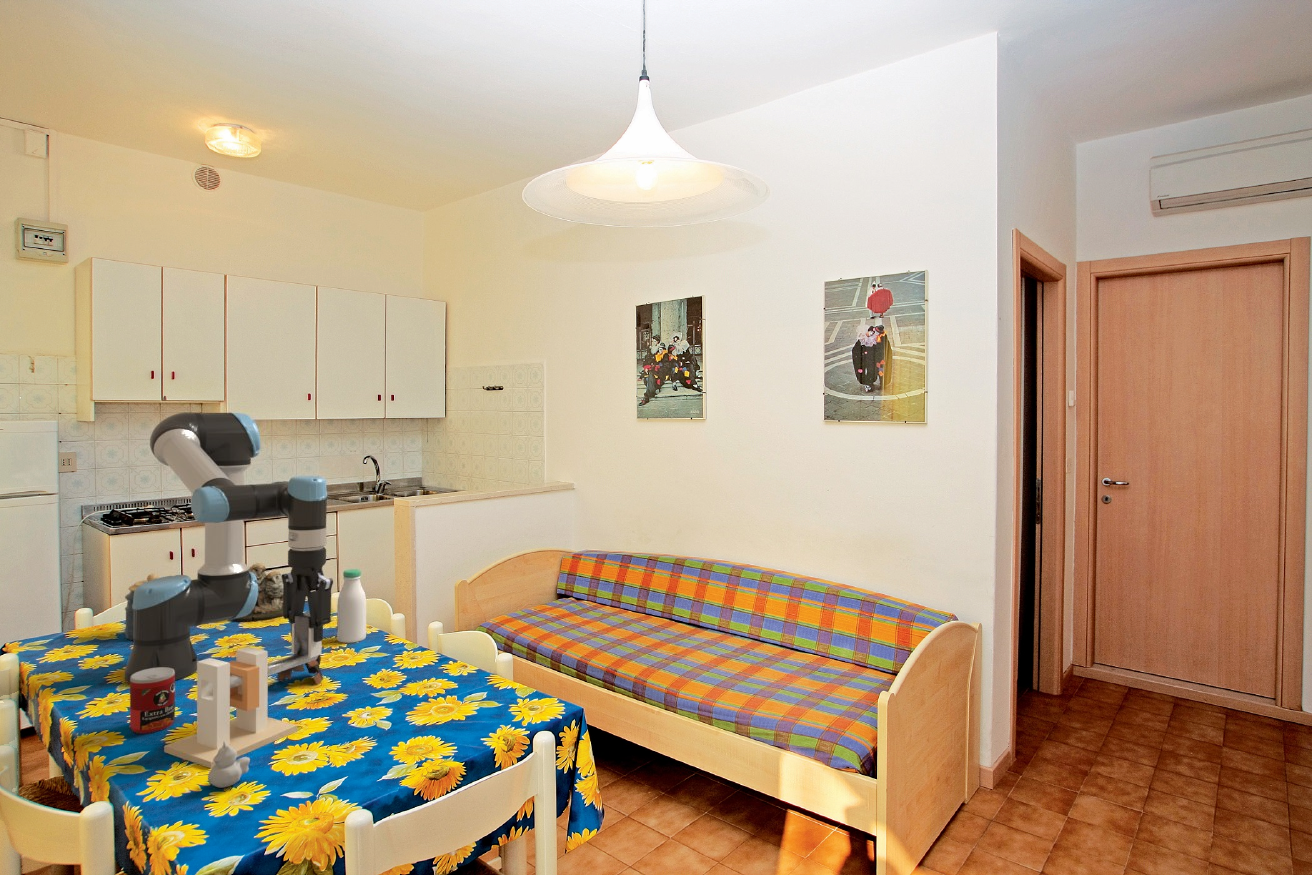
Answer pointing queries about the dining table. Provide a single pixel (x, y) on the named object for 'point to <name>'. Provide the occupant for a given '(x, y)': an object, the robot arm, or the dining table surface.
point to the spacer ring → (245, 686)
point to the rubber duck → (227, 767)
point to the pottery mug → (311, 666)
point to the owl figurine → (266, 596)
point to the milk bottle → (351, 609)
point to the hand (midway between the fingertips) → (306, 653)
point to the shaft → (300, 650)
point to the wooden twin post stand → (228, 713)
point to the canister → (130, 602)
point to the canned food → (152, 699)
